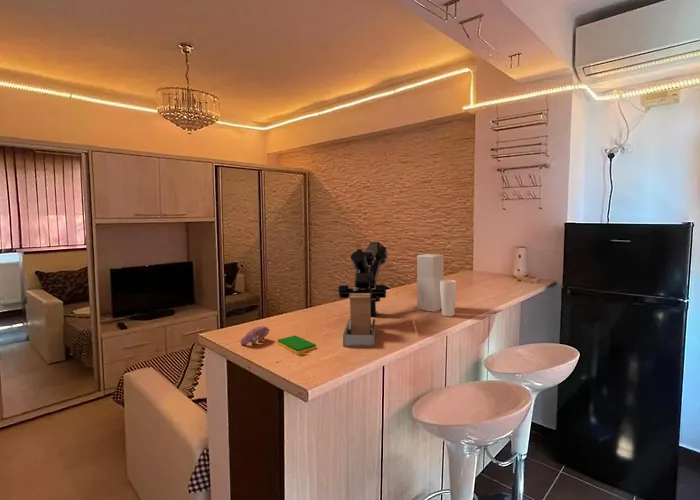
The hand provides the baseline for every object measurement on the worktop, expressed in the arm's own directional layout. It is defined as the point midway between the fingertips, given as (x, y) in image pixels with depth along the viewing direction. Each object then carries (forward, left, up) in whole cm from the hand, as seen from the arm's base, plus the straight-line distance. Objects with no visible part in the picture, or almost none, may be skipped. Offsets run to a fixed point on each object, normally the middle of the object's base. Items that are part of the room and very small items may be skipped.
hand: (361, 309), depth 150 cm
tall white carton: (-32, +30, -8) cm, 45 cm away
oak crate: (+8, 0, -7) cm, 10 cm away
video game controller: (+16, -37, -8) cm, 41 cm away
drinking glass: (-20, +36, -8) cm, 42 cm away
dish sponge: (+22, -21, -8) cm, 31 cm away
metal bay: (+13, 0, -8) cm, 15 cm away
